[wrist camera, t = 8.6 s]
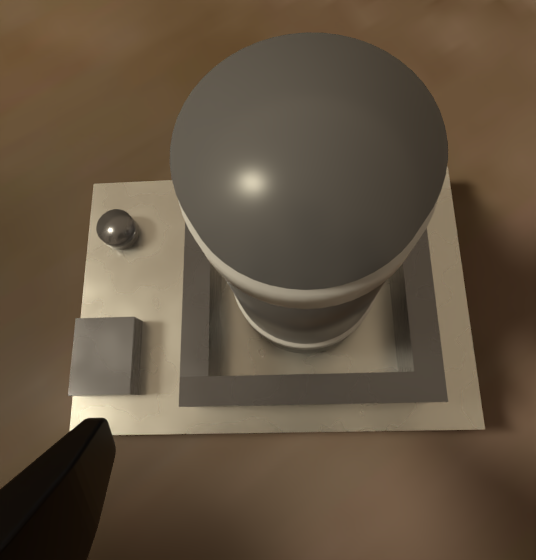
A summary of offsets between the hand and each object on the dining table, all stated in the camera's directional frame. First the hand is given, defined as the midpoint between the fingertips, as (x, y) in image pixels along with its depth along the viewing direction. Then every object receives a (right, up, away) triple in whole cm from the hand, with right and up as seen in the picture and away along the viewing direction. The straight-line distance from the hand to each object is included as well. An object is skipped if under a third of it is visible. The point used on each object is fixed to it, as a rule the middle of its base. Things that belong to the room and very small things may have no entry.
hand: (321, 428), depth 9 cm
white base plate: (-1, +2, +11) cm, 11 cm away
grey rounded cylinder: (0, +3, +9) cm, 10 cm away
